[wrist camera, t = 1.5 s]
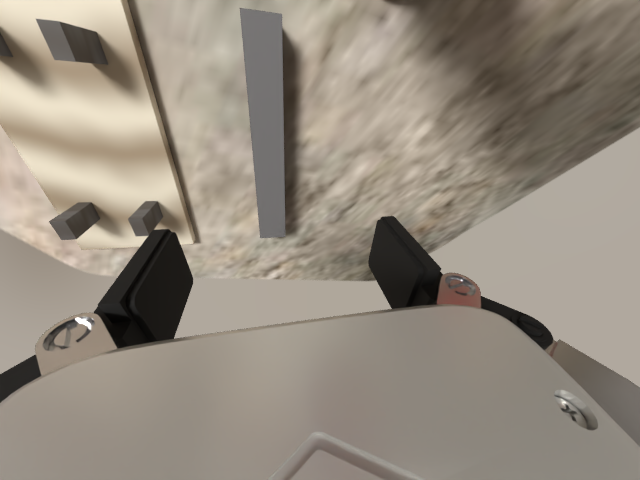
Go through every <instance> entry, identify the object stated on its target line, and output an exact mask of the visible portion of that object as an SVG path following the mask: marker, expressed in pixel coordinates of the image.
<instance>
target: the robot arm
mask: <svg viewBox="0 0 640 480" xmlns="http://www.w3.org/2000/svg"><path fill="white" fill-rule="evenodd" d="M369 267H370V269H371V271H372V273H373V275H374V277H375V278H376V280H377V282H378V284H379V286H380V288H381V290H382V291H383V293H384V295H385V297H386V299H387V301H388V303H389V304H390V306H391V308H392V309H388V310H381V311H374V312H373V311H372V312H365V313H357V314H350V315H342V316H334V317H327V318H319V319H311V320H305V321H297V322H290V323H282V324H275V325H267V326H260V327H253V328H246V329H238V330H231V331H224V332H217V333H210V334H203V335H196V336H190V337H183V338H177V339H174V336H175V333H176V330H177V327H178V325H179V322H180V319H181V316H182V313H183V310H184V308H185V305H186V302H187V299H188V296H189V293H190V291H191V288H192V285H193V277H192V274H191V271H190V269H189V266H188V263H187V261H186V258H185V255H184V253H183V250H182V248H181V245H180V242H179V240H178V237H177V234H176V233H175V232H171V230H170V229H158V230H152V231H151V233H150V234H149V236H148V237H147V238H146V240H145V241H144V242H143V244H142V245H141V246H140V248H139V249H138V251H137V252H136V253H135V255H134V256H133V257H132V259H131V260H130V261H129V263H128V264H127V266H126V267H125V268H124V270H123V271H122V272H121V274H120V275H119V276H118V278H117V279H116V281H115V282H114V283H113V285H112V286H111V287H110V289H109V290H108V291H107V293H106V294H105V296H104V297H103V298H102V300H101V301H100V302H99V304H98V307H97V309H96V310H95V311H94V313H81V314H78V315H74V316H71V317H69V318H66V319H64V320H62V321H60V322H58V323H57V324H55V325H54V326H53V327H51V328H50V329H48V330H47V331H46V332H45V333H44V334H43V335H42V336H41V337H40V338H39V340H38V341H37V343H36V345H35V353H36V355H34V356H32V357H30V358H29V359H27V360H25V361H23V362H21V363H20V364H18V365H16V366H14V367H13V368H11V369H9V370H7V371H5V372H4V373H2V374H0V480H640V387H638V386H637V385H635V384H634V383H632V382H631V381H629V380H628V379H626V378H624V377H623V376H621V375H619V374H618V373H616V372H614V371H612V370H611V369H609V368H607V367H606V366H604V365H602V364H601V363H599V362H597V361H596V360H594V359H592V358H590V357H589V356H587V355H585V354H584V353H582V352H580V351H578V350H577V349H575V348H573V347H572V346H570V345H568V344H567V343H565V342H563V341H561V340H558V341H557V342H556V341H554V340H553V337H552V335H551V333H550V331H549V330H548V329H547V328H546V327H545V326H544V325H543V324H542V323H540V322H539V321H538V320H536V319H534V318H533V317H530V316H528V315H526V314H524V313H521V312H519V311H517V310H514V309H512V308H509V307H507V306H504V305H502V304H499V303H497V302H494V301H492V300H490V299H487V298H485V297H482V296H481V292H480V289H479V287H478V286H477V284H475V282H473V281H472V280H471V279H469V278H467V277H466V276H463V275H461V274H456V273H447V274H444V275H443V274H442V273H441V272H440V270H441V268H440V267H439V266H438V265H437V263H436V262H435V261H434V260H433V259H432V258H431V257H430V256H429V255H428V253H427V252H426V251H425V250H424V249H423V248H422V247H421V246H420V245H419V243H418V242H417V241H416V240H415V239H414V238H413V237H412V236H411V235H410V234H409V232H408V231H407V230H406V229H405V228H404V227H403V226H402V225H401V224H400V223H399V221H398V220H397V219H396V218H395V217H394V216H388V217H381V219H380V220H378V221H377V225H376V229H375V234H374V238H373V243H372V247H371V252H370V256H369Z"/></svg>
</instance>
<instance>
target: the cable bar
mask: <svg viewBox="0 0 640 480" xmlns="http://www.w3.org/2000/svg"><path fill="white" fill-rule="evenodd" d="M240 15H241V26H242V38H243V49H244V60H245V71H246V82H247V94H248V105H249V116H250V127H251V138H252V150H253V161H254V172H255V183H256V194H257V206H258V217H259V228H260V238H271V237H285V179H284V113H283V48H282V14H279V13H272V12H265V11H258V10H251V9H244V8H240Z"/></svg>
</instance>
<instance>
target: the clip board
mask: <svg viewBox="0 0 640 480" xmlns="http://www.w3.org/2000/svg"><path fill="white" fill-rule="evenodd" d="M0 124H1V126H2V128H3V129H4V131H5V132H6V134H7V135H8V137H9V138H10V140H11V141H12V143H13V145H14V146H15V148H16V149H17V151H18V152H19V154H20V155H21V157H22V158H23V160H24V162H25V163H26V165H27V166H28V168H29V169H30V171H31V172H32V174H33V175H34V177H35V179H36V180H37V182H38V183H39V185H40V186H41V188H42V189H43V191H44V192H45V194H46V196H47V197H48V199H49V200H50V202H51V203H52V205H53V206H54V208H55V209H56V211H57V213H58V214H59V215H58V216H57V217H55V218H54V219H52V220H51V221H49V222H50V224H51V225H52V227H53V228H54V230H55V231H56V232H57V234H58V235H59V237H60V238H61V240H71V239H75V240H76V242H77V244H78V245H79V247H80V248H81V250H90V249H108V248H127V247H140V246H141V245H142V244H143V242H144V241H145V240H146V238H147V237H148V236H149V234H150V233H151V231H152V230H158V229H170V230H171V232H175V233H176V234H177V237H178V240H179V242H180V245H182V244H194V241H195V239H196V238H195V235H194V231H193V228H192V224H191V221H190V217H189V214H188V210H187V207H186V203H185V200H184V196H183V193H182V189H181V186H180V182H179V179H178V175H177V172H176V168H175V165H174V161H173V158H172V154H171V151H170V147H169V144H168V141H167V137H166V134H165V130H164V127H163V123H162V120H161V116H160V113H159V109H158V106H157V102H156V99H155V95H154V92H153V88H152V85H151V81H150V78H149V74H148V71H147V67H146V64H145V60H144V57H143V53H142V50H141V46H140V43H139V40H138V36H137V33H136V29H135V26H134V22H133V19H132V15H131V12H130V8H129V5H128V1H127V0H0Z"/></svg>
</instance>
